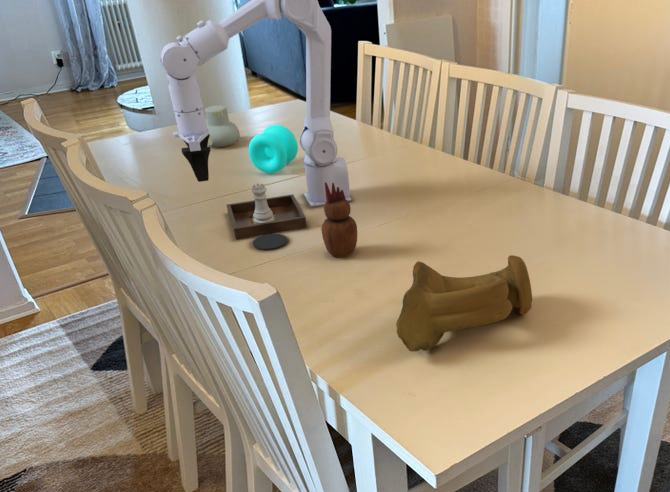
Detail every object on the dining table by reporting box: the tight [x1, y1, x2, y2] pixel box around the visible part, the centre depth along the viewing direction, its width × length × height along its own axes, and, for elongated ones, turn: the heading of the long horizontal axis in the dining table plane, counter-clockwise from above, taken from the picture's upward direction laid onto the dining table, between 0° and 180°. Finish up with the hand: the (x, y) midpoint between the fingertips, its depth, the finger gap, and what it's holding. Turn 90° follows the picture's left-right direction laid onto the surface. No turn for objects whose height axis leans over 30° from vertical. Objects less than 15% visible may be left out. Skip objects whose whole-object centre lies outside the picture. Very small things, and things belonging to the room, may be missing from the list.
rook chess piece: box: [250, 182, 275, 224], centre depth 146 cm, size 4×4×8 cm
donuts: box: [248, 124, 299, 175], centre depth 173 cm, size 10×10×10 cm
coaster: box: [252, 233, 288, 251], centre depth 140 cm, size 7×7×1 cm
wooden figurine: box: [320, 182, 358, 258], centre depth 130 cm, size 7×6×15 cm
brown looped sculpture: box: [396, 254, 533, 353], centre depth 108 cm, size 18×13×22 cm
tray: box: [226, 194, 308, 241], centre depth 148 cm, size 15×14×2 cm
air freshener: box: [204, 104, 241, 148], centre depth 190 cm, size 11×8×10 cm
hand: (203, 174), depth 145 cm, fingers open, 7 cm apart
